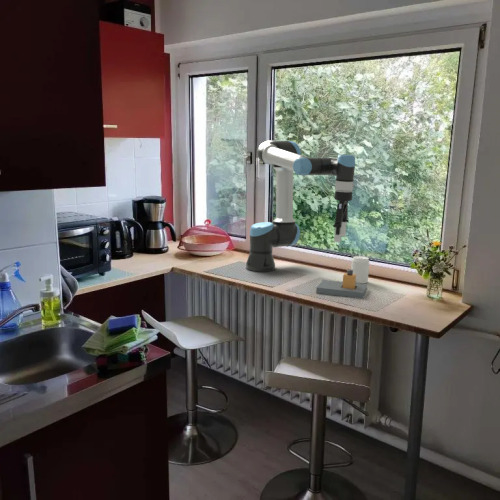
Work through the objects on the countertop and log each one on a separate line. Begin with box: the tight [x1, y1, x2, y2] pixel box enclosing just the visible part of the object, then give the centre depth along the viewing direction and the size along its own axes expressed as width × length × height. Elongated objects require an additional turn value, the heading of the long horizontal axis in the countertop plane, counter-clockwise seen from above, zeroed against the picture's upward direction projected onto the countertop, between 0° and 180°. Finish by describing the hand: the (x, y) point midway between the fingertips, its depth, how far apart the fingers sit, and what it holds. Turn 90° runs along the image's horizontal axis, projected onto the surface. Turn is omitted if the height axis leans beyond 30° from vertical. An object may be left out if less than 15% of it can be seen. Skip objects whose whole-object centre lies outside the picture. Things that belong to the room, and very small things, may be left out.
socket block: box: [315, 279, 368, 299], centre depth 220 cm, size 20×14×2 cm
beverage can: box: [350, 255, 370, 284], centre depth 235 cm, size 8×8×12 cm
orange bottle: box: [342, 269, 356, 289], centre depth 218 cm, size 5×4×10 cm
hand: (339, 239), depth 221 cm, fingers open, 13 cm apart
